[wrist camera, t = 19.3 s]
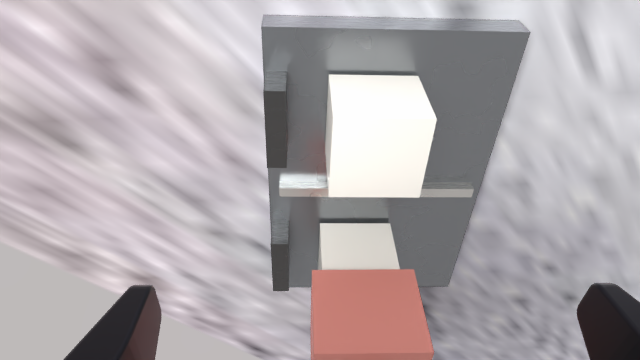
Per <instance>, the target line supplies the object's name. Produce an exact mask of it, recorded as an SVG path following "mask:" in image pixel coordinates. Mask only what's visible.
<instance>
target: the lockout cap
mask: <svg viewBox="0 0 640 360" xmlns="http://www.w3.org/2000/svg"><path fill="white" fill-rule="evenodd" d="M310 330H311V360H432V358H433V355H434V350H433V346H432V342H431V337H430V333H429V329H428V325H427V321H426V317H425V313H424V309H423V304H422V300H421V296H420V292H419V288H418V284H417V280H416V276H415V272H414V269H381V270H312V288H311V329H310Z"/></svg>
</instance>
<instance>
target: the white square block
mask: <svg viewBox="0 0 640 360" xmlns="http://www.w3.org/2000/svg"><path fill="white" fill-rule="evenodd" d="M436 121H437V118H436V116H435V113H434V111H433V109H432V107H431V104H430V102H429V100H428V97H427V95H426V93H425V90H424V88H423V86H422V83H421V81H420V79H419V76H393V75H332V74H329V78H328V99H327V120H326V140H325V155H326V169H327V184H328V197H408V198H419V197H420V193H421V188H422V184H423V179H424V175H425V170H426V166H427V161H428V157H429V152H430V148H431V143H432V139H433V134H434V130H435V125H436Z"/></svg>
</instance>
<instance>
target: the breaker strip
mask: <svg viewBox="0 0 640 360" xmlns="http://www.w3.org/2000/svg"><path fill="white" fill-rule="evenodd" d="M261 28H262V50H263V71H264V112H265V132H266V153H267V168H268V177H269V198H270V219H271V256H272V277H273V291H289V287H312V270H318V257H319V235H320V223H390V225H391V230H392V234H393V239H394V244H395V248H396V253H397V258H398V263H399V267H400V269H414V272H415V276H416V280H417V284H418V287H448V284H449V281H450V278H451V275H452V272H453V269H454V265H455V262H456V259H457V256H458V253H459V250H460V247H461V244H462V241H463V238H464V235H465V232H466V229H467V226H468V222H469V219H470V216H471V213H472V210H473V207H474V204H475V201H476V198H477V195H478V192H479V189H480V186H481V182H482V179H483V176H484V173H485V170H486V167H487V164H488V161H489V158H490V155H491V152H492V149H493V146H494V142H495V139H496V136H497V133H498V130H499V127H500V124H501V121H502V118H503V115H504V112H505V109H506V106H507V103H508V99H509V96H510V93H511V90H512V87H513V84H514V81H515V78H516V75H517V72H518V69H519V66H520V63H521V59H522V56H523V53H524V50H525V47H526V44H527V41H528V38H529V35H530V31H529V30H528V29H527V28H526V27H525V26H524V25H523V24H522V23H521V22H520V21H516V20H471V19H425V18H380V17H334V16H289V15H263V21H262V26H261ZM329 74H332V75H393V76H419V79H420V81H421V83H422V86H423V88H424V90H425V93H426V95H427V97H428V100H429V102H430V104H431V107H432V109H433V111H434V113H435V116H436V118H437V121H436V125H435V130H434V134H433V139H432V143H431V148H430V152H429V157H428V161H427V166H426V170H425V175H424V179H423V184H422V188H421V193H420V197H419V198H408V197H328V184H327V169H326V155H325V140H326V120H327V99H328V78H329Z"/></svg>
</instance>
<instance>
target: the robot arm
mask: <svg viewBox="0 0 640 360" xmlns="http://www.w3.org/2000/svg"><path fill="white" fill-rule="evenodd" d="M577 317H578V321H579V324H580V328H581V331H582V334H583V338H584V341H585V344H586V348H587V351H588V354H589V357H590V360H640V302H639V301H637V300H636V299H635V298H633V297H632V296H631V295H629V294H628V293H627V292H626V291H624V290H623V289H622V288H620V287H619V286H617V285H615V284H612V283H595V284H593V285H591V286H590V288H589V289H588V291H587V292H586V294H585V295H584V297H583V299H582V300H581V302H580V303H579V305H578V308H577ZM160 324H161V308H160V305H159V301H158V298H157V295H156V291H155V289H154V287H153V286H152V285H133V286H131V287H130V288H129V289H128V290H127V291H126V292H125V293H124V294H123V295H122V296H121V297H120V299H118V300H117V302H116V303H115V304H114V305H113V306H112V307H111V308H110V309H109V310H108V311H107V313H106V314H105V315H104V316H103V317H102V318H101V319H100V320H99V321H98V322H97V324H96V325H95V326H94V327H93V328H92V329H91V330H90V331H89V332H88V333H87V335H86V336H85V337H84V338H83V339H82V340H81V341H80V342H79V343H78V344H77V345H76V347H75V348H74V349H73V350H72V351H71V352H70V353H69V354H68V355H67V356H66V357H65V359H64V360H155V355H156V349H157V343H158V336H159V330H160Z"/></svg>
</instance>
